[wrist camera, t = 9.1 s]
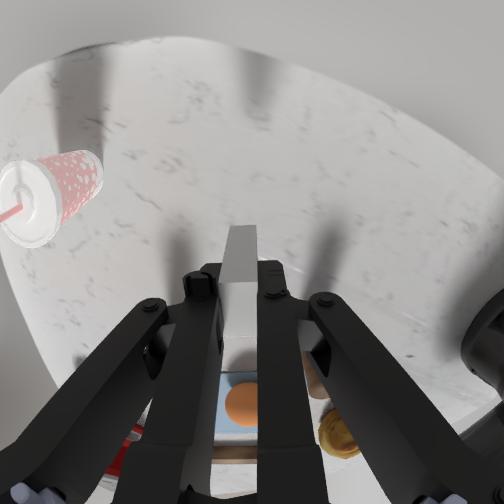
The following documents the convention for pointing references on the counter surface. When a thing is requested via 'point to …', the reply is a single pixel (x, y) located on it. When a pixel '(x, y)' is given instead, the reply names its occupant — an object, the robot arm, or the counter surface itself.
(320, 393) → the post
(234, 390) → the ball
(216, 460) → the bar
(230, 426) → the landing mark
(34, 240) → the beverage cup
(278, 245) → the counter surface
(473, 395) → the counter surface
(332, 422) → the bread roll
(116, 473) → the canned food
